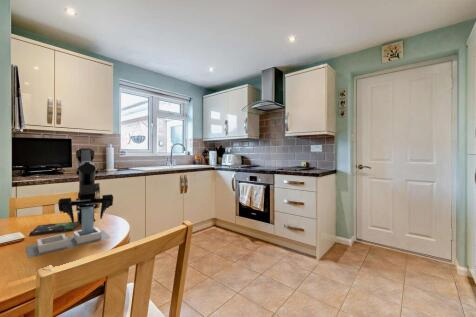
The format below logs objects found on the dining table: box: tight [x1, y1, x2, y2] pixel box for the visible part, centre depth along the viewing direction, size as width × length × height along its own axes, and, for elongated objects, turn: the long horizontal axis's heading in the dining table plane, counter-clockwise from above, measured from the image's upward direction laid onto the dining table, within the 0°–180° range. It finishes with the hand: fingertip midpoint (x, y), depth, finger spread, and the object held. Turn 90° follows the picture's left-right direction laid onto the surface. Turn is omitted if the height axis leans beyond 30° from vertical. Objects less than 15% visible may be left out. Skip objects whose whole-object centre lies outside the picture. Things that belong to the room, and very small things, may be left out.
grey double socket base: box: [25, 226, 112, 259], centre depth 87 cm, size 25×12×4 cm, turn 136°
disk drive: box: [29, 221, 79, 236], centre depth 100 cm, size 10×3×15 cm
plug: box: [81, 207, 95, 235], centre depth 91 cm, size 4×4×12 cm
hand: (87, 220), depth 90 cm, fingers open, 9 cm apart
